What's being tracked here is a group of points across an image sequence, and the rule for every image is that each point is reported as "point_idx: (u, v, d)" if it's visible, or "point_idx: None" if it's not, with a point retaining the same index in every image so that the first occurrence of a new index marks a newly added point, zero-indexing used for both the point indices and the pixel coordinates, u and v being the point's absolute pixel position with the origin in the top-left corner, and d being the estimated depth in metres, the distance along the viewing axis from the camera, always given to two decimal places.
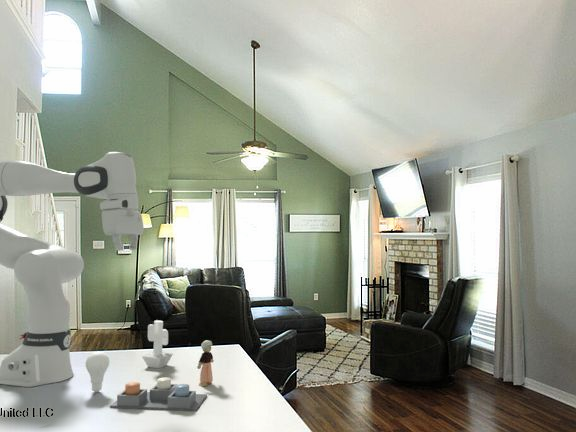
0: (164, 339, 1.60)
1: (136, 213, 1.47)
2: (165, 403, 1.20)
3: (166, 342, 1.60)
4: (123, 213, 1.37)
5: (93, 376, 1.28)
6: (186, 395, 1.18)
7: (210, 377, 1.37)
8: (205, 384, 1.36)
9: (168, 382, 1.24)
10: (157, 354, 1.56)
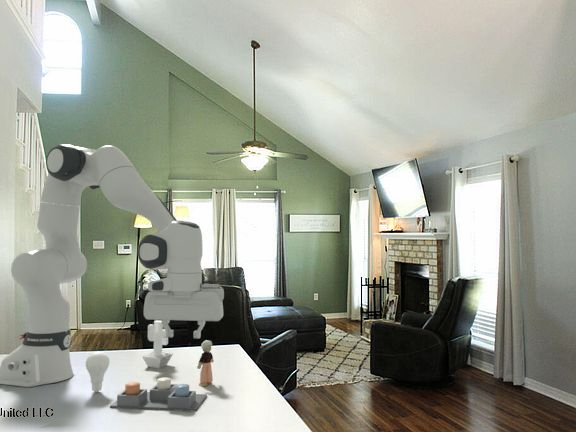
0: (164, 339, 1.60)
1: (201, 294, 1.19)
2: (165, 403, 1.20)
3: (166, 342, 1.60)
4: (162, 296, 1.19)
5: (93, 376, 1.28)
6: (186, 395, 1.18)
7: (210, 377, 1.37)
8: (205, 384, 1.36)
9: (168, 382, 1.24)
10: (157, 354, 1.56)
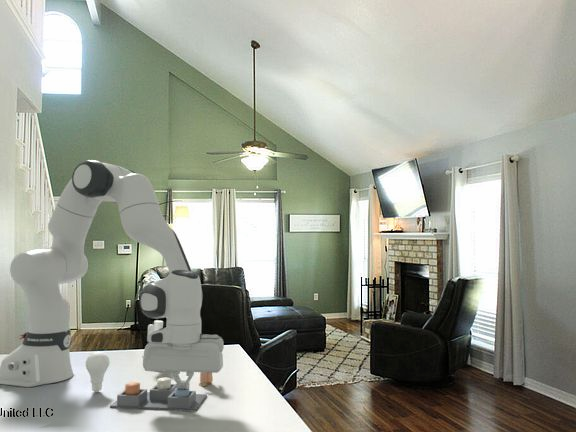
0: None
1: (201, 346, 1.18)
2: (165, 403, 1.20)
3: None
4: (161, 347, 1.18)
5: (93, 376, 1.28)
6: None
7: (210, 377, 1.37)
8: (205, 384, 1.36)
9: (168, 382, 1.24)
10: None
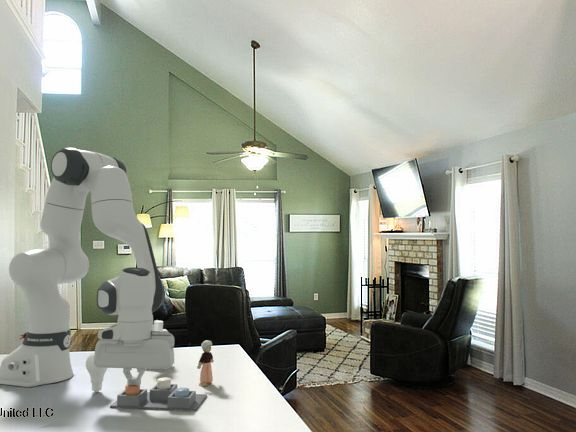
0: None
1: (151, 342, 1.19)
2: (165, 403, 1.20)
3: None
4: (112, 344, 1.19)
5: (93, 376, 1.28)
6: None
7: (210, 377, 1.37)
8: (205, 384, 1.36)
9: (168, 382, 1.24)
10: None
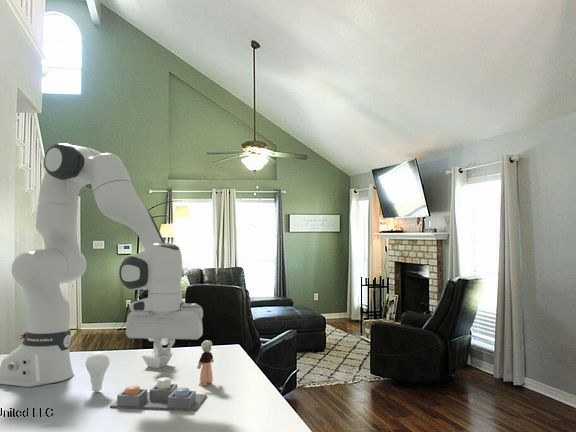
0: (164, 339, 1.60)
1: (181, 314, 1.23)
2: (165, 403, 1.20)
3: (166, 342, 1.60)
4: (143, 315, 1.24)
5: (93, 376, 1.28)
6: None
7: (210, 377, 1.37)
8: (205, 384, 1.36)
9: (168, 382, 1.24)
10: (157, 354, 1.56)
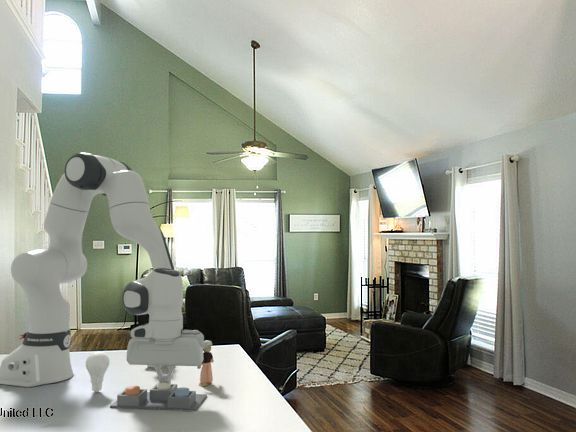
0: None
1: (181, 340, 1.23)
2: (165, 403, 1.20)
3: None
4: (144, 342, 1.24)
5: (93, 376, 1.28)
6: None
7: (210, 377, 1.37)
8: (205, 384, 1.36)
9: (168, 384, 1.24)
10: None
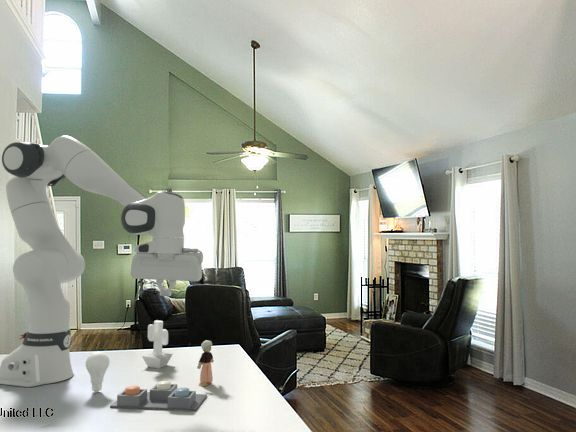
0: (164, 339, 1.60)
1: (182, 257, 1.32)
2: (165, 403, 1.20)
3: (166, 342, 1.60)
4: (147, 257, 1.33)
5: (93, 376, 1.28)
6: None
7: (210, 377, 1.37)
8: (205, 384, 1.36)
9: (168, 386, 1.24)
10: (157, 354, 1.56)
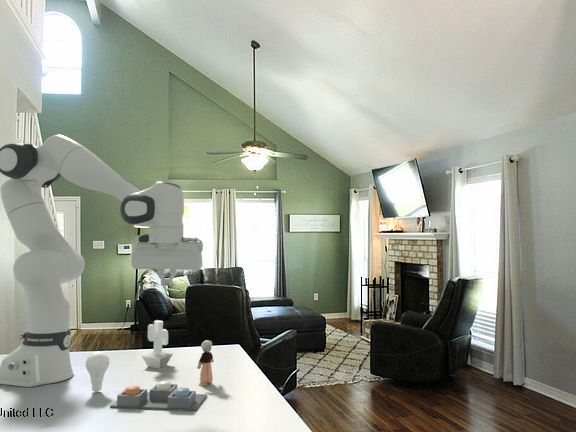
0: (164, 339, 1.60)
1: (182, 246, 1.34)
2: (165, 403, 1.20)
3: (166, 342, 1.60)
4: (147, 248, 1.34)
5: (93, 376, 1.28)
6: None
7: (210, 377, 1.37)
8: (205, 384, 1.36)
9: (168, 386, 1.24)
10: (157, 354, 1.56)
